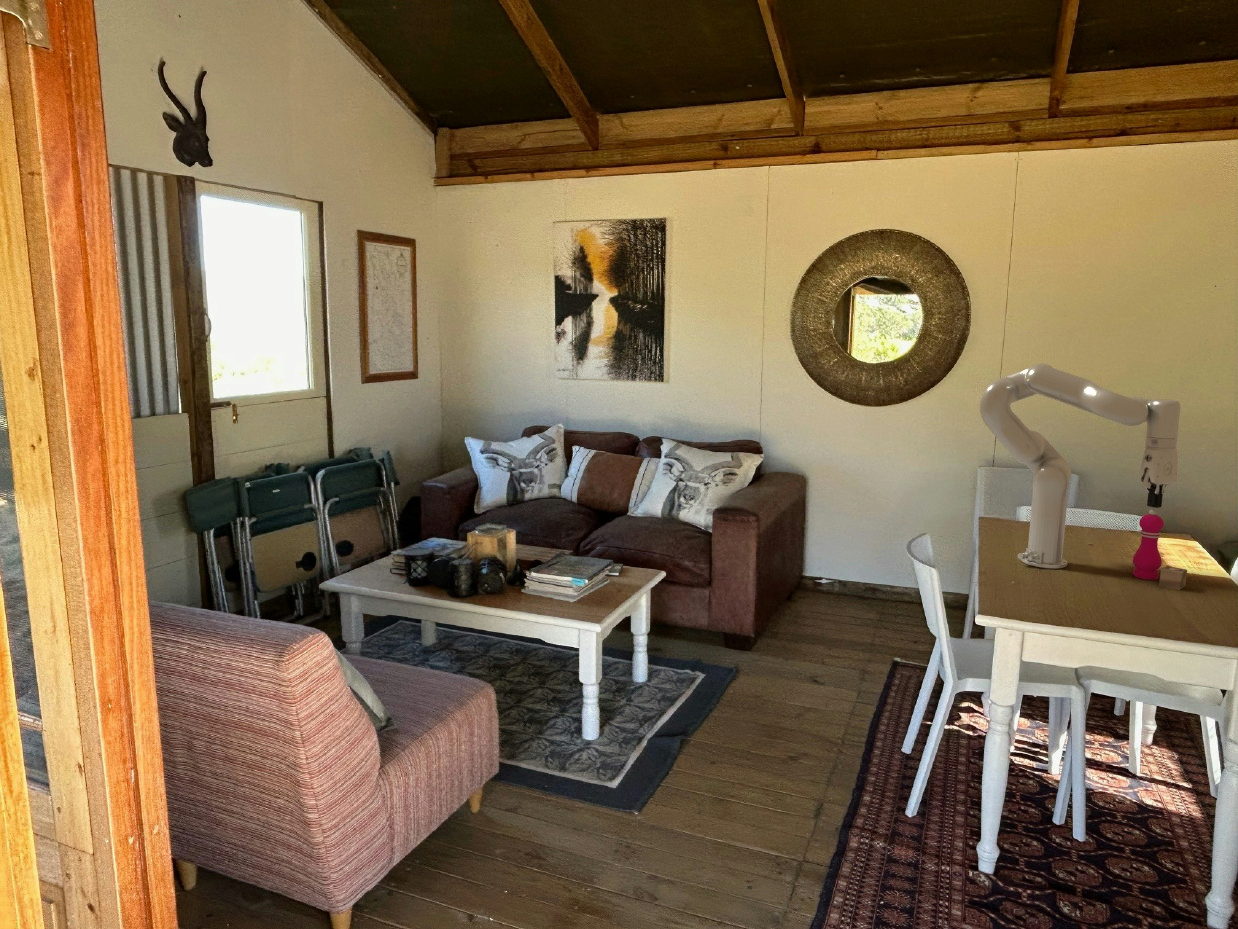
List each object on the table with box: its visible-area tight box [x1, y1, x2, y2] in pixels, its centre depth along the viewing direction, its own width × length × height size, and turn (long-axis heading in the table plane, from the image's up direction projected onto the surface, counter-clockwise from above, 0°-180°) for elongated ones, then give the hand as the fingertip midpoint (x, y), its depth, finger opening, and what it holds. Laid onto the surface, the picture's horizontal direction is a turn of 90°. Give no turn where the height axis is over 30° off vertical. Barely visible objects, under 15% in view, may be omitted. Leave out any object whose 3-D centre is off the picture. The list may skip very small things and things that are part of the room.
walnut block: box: [1158, 565, 1188, 591], centre depth 243 cm, size 5×5×5 cm
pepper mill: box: [1132, 509, 1165, 581], centre depth 250 cm, size 7×7×20 cm
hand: (1154, 506), depth 248 cm, fingers closed
